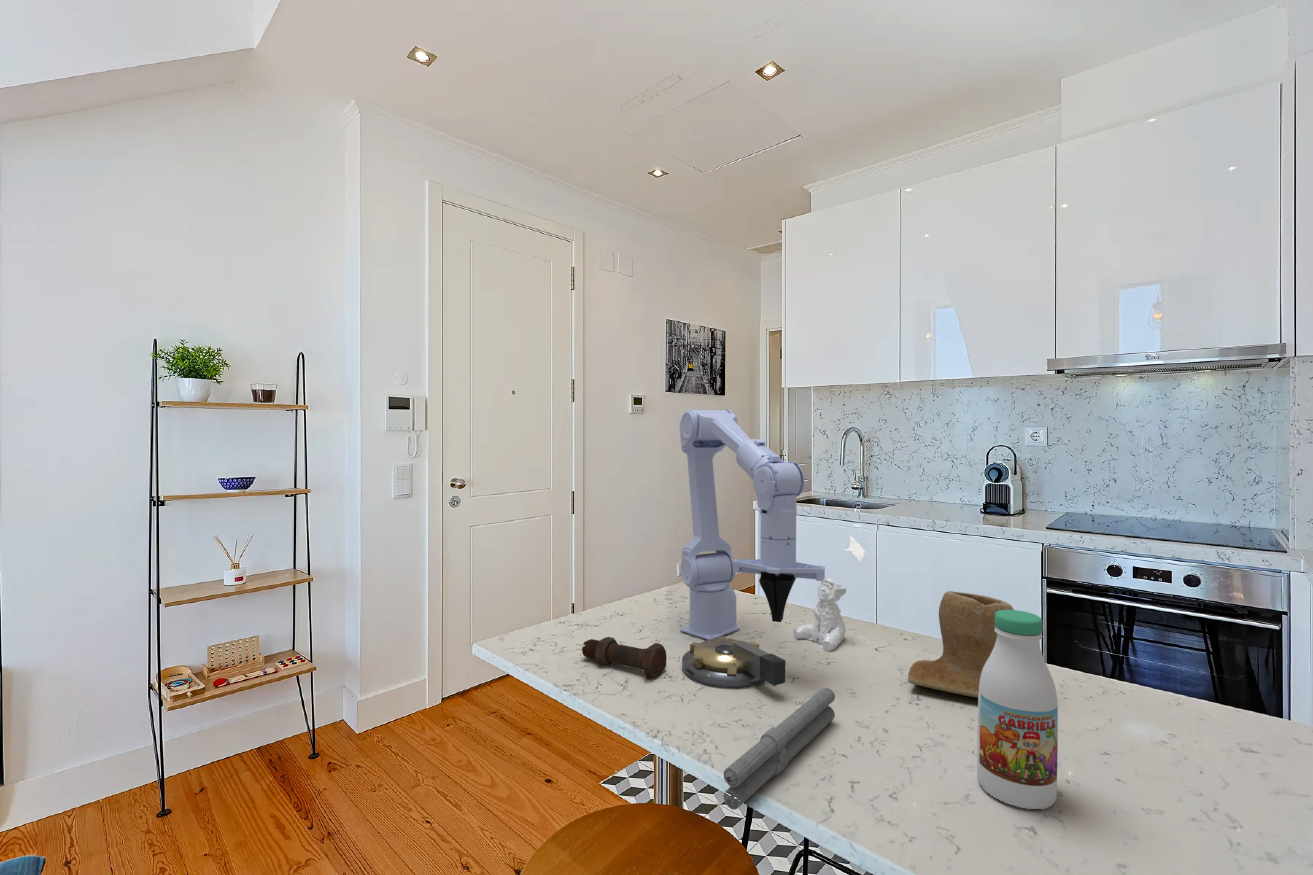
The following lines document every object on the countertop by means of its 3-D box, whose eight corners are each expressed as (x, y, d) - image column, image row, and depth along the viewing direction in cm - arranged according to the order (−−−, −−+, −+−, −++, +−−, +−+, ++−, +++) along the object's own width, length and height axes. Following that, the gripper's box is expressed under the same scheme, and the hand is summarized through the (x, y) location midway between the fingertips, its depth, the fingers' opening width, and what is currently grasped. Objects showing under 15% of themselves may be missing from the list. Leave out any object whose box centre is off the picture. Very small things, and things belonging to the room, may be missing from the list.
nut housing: (719, 645, 112) (719, 637, 112) (789, 668, 102) (789, 659, 102) (663, 669, 102) (663, 659, 102) (735, 697, 91) (735, 686, 91)
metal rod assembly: (818, 718, 85) (818, 683, 85) (837, 724, 83) (837, 688, 83) (717, 808, 65) (718, 762, 65) (740, 819, 63) (740, 772, 63)
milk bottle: (962, 772, 72) (965, 605, 71) (1024, 769, 72) (1026, 603, 72) (1005, 814, 64) (1008, 627, 63) (1074, 810, 65) (1077, 625, 64)
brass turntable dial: (675, 654, 103) (675, 631, 103) (735, 641, 110) (735, 619, 110) (745, 698, 87) (745, 670, 87) (811, 678, 94) (811, 653, 94)
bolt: (589, 667, 107) (662, 683, 99) (573, 661, 103) (647, 678, 96) (598, 634, 110) (670, 647, 102) (583, 627, 106) (656, 640, 98)
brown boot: (1018, 684, 96) (1019, 590, 96) (1022, 716, 85) (1023, 611, 85) (914, 666, 103) (915, 578, 103) (906, 693, 93) (908, 596, 92)
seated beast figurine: (790, 637, 117) (790, 575, 117) (821, 629, 122) (821, 570, 121) (828, 653, 109) (829, 587, 109) (860, 643, 114) (860, 580, 113)
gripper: (728, 537, 97) (727, 621, 97) (820, 544, 91) (820, 633, 92) (739, 530, 104) (738, 609, 104) (826, 536, 98) (825, 619, 98)
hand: (777, 619), depth 98 cm, fingers closed
